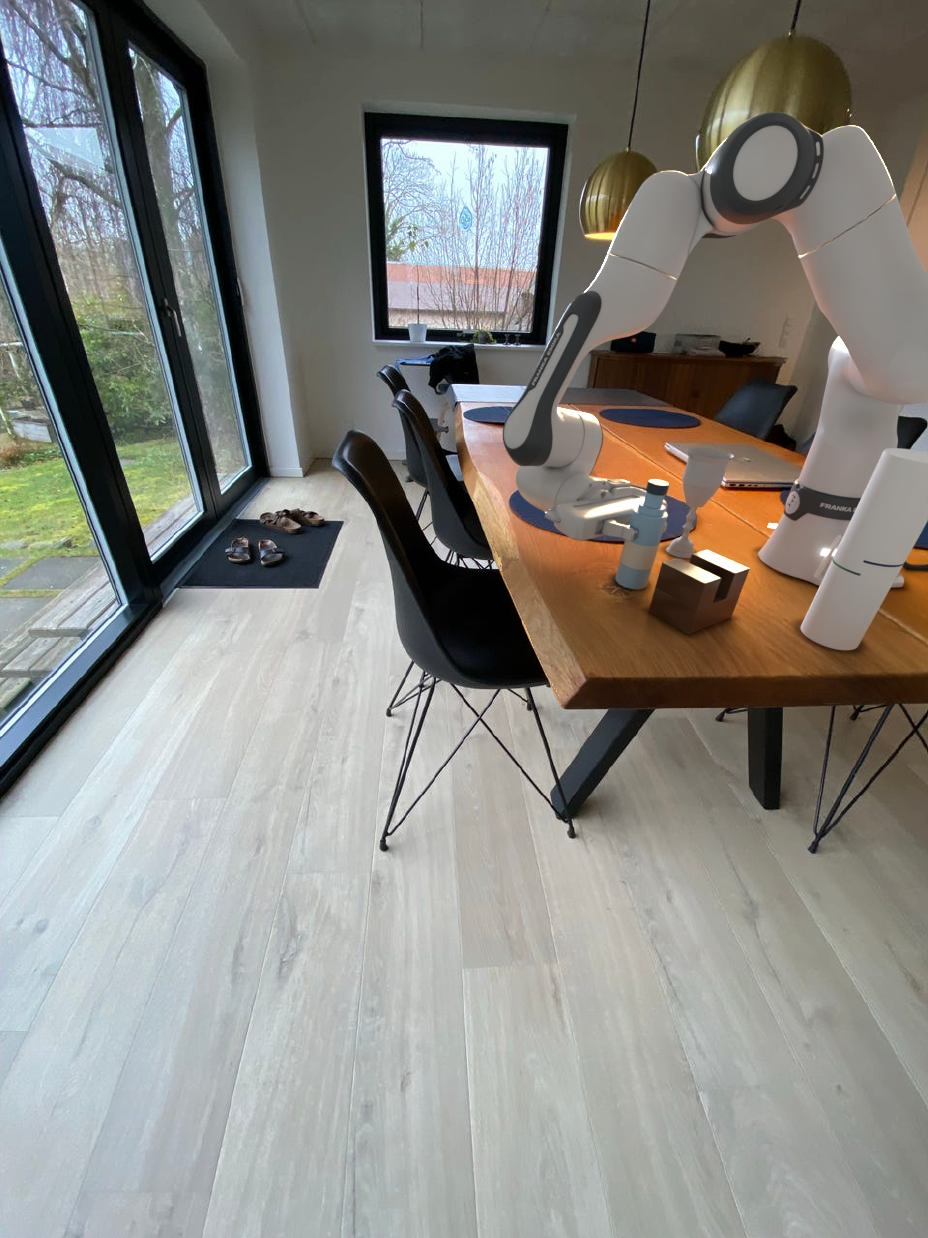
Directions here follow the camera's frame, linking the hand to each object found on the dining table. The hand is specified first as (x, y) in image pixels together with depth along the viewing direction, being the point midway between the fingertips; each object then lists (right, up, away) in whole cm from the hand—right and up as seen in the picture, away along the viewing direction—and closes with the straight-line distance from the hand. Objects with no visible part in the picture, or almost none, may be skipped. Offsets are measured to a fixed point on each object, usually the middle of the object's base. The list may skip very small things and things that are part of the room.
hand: (649, 531), depth 79 cm
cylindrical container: (+23, -16, -5) cm, 29 cm away
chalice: (+12, -1, +17) cm, 21 cm away
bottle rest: (+5, -12, -2) cm, 14 cm away
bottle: (+2, -7, +1) cm, 8 cm away
